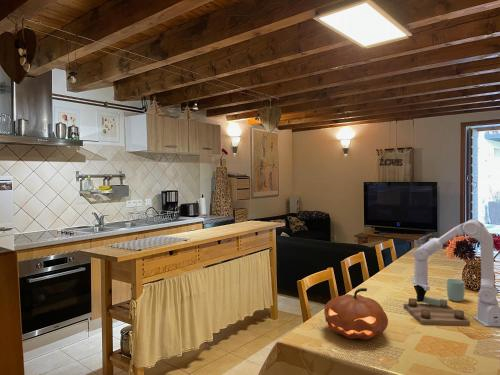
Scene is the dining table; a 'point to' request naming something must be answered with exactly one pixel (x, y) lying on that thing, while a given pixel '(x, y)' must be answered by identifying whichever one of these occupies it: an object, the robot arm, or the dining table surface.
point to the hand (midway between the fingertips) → (420, 301)
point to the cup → (455, 289)
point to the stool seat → (435, 314)
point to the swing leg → (434, 301)
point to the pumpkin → (355, 316)
